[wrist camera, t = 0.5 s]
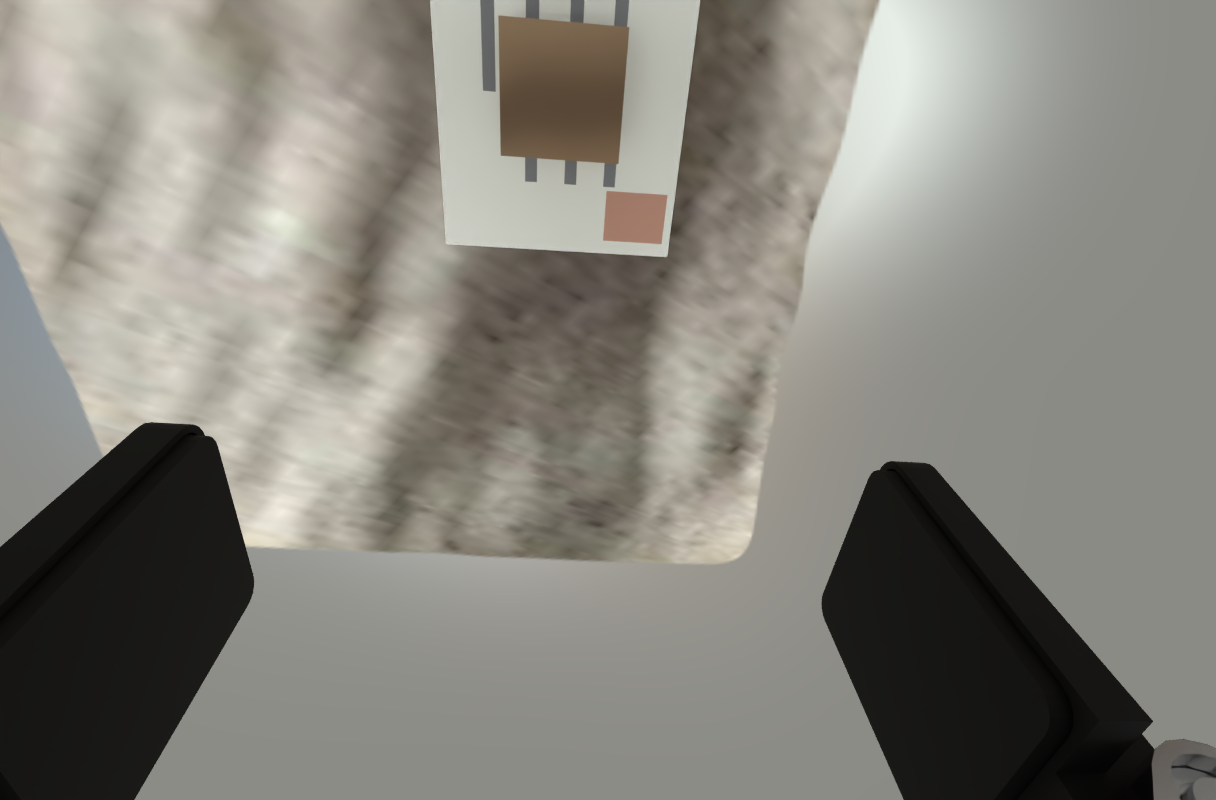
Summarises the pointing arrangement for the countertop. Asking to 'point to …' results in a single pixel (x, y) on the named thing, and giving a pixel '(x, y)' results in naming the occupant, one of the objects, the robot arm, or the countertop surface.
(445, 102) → the letter
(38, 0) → the countertop surface
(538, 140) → the walnut block
